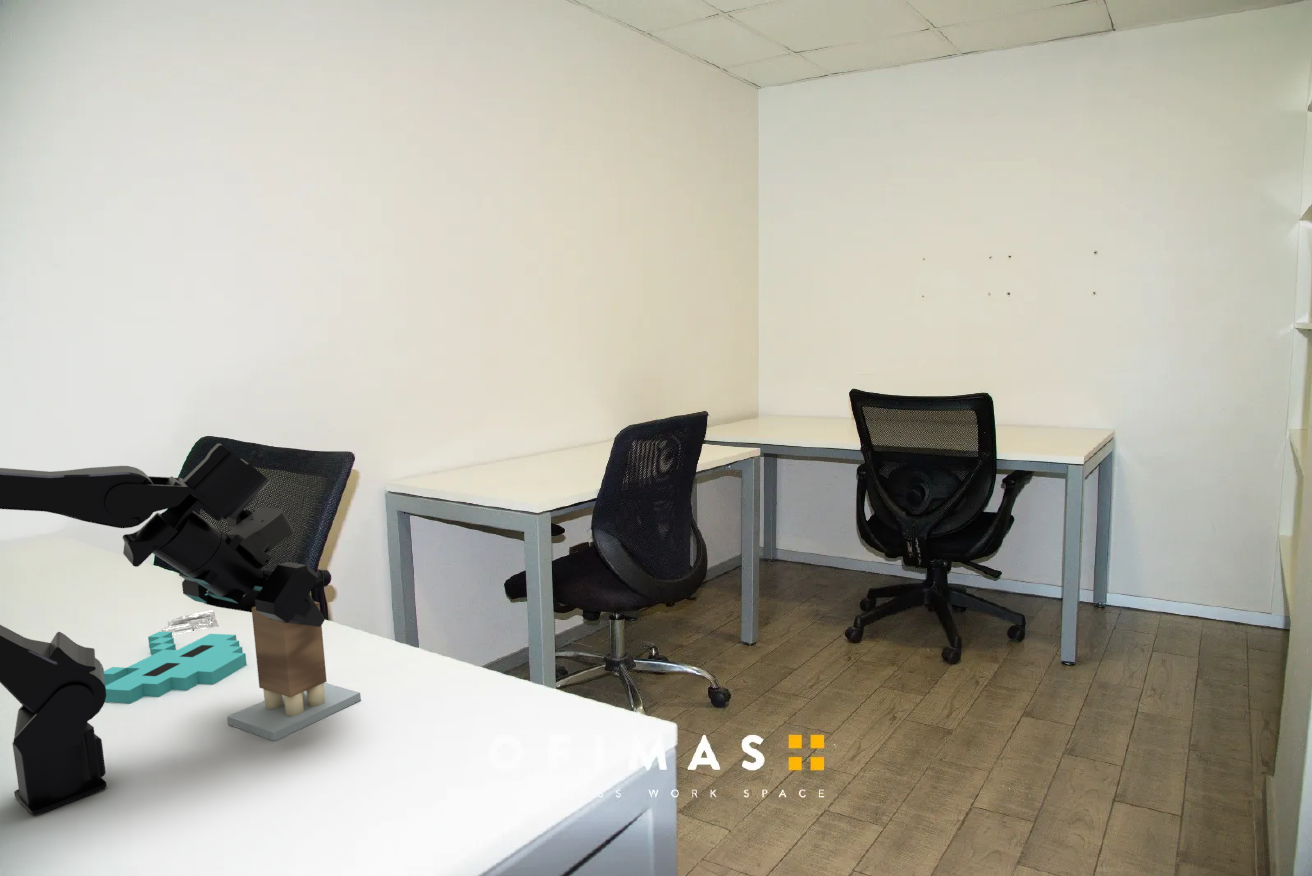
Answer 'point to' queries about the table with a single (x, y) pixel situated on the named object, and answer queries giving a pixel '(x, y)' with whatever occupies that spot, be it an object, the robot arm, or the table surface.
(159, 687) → the alien figure
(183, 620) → the crumpled silver wrapper
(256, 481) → the robot arm
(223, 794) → the table surface
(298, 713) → the peg stand
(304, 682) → the walnut block
